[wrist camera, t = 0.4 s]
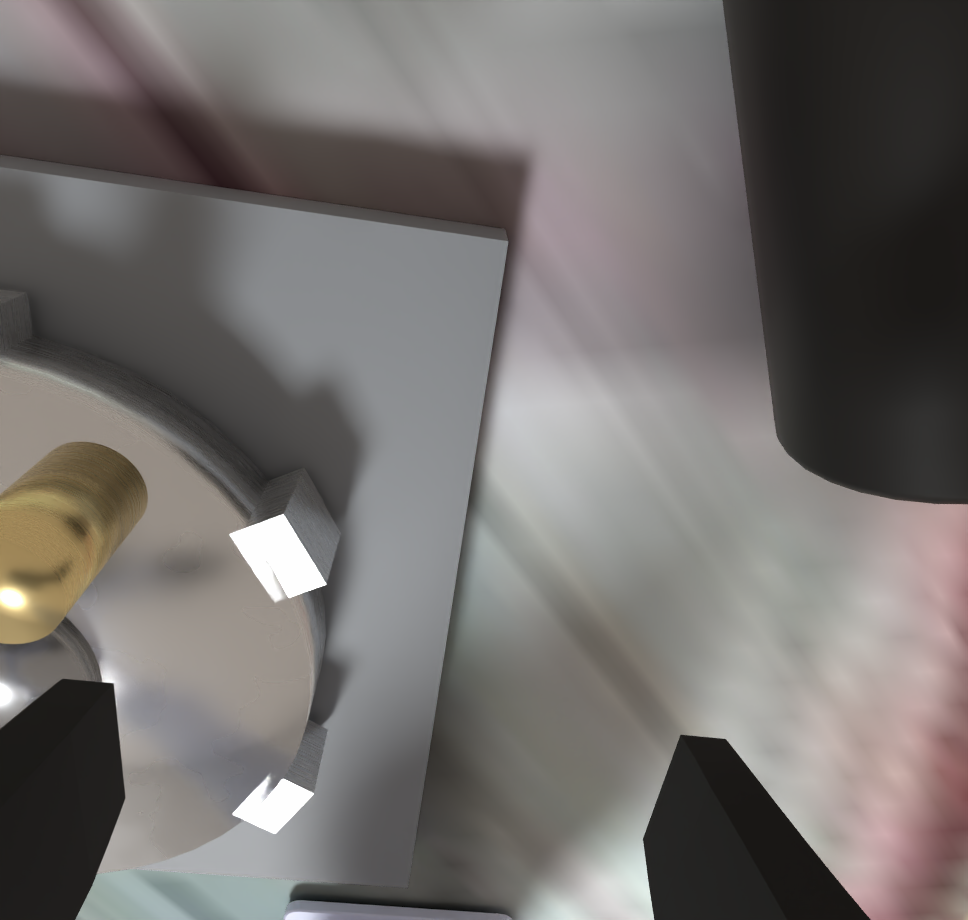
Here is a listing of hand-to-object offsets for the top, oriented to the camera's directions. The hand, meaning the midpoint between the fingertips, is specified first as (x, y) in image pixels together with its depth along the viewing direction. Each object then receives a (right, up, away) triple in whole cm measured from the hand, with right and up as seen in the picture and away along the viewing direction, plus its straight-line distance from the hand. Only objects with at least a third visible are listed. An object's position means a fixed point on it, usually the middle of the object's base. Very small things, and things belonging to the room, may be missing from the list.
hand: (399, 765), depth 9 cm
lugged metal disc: (-10, 0, +8) cm, 13 cm away
